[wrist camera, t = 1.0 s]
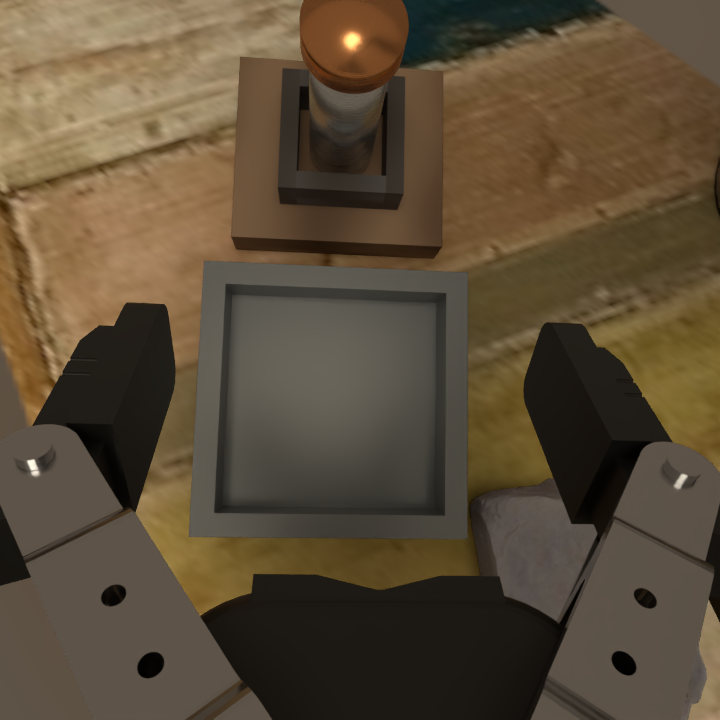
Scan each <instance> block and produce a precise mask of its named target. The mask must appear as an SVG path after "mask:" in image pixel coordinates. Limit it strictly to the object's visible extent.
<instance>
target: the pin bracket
mask: <svg viewBox="0 0 720 720" xmlns="http://www.w3.org/2000/svg"><path fill="white" fill-rule="evenodd" d="M442 180H443V71H431V70H417V69H403V68H398V70H397V72H396V73H395V75H394V76H393V77H392V78H391V79H390V80H389V81H388V84H387V88H386V93H385V97H384V102H383V106H382V111H381V115H380V120H379V124H378V129H377V133H376V138H375V142H374V147H373V151H372V156H371V160H370V163H369V165H368V167H367V168H366V170H365V171H364V172H363V173H362V174H346V173H328V172H319V171H318V170H317V169H316V168H315V167H314V165H313V163H312V161H311V158H310V147H309V70H308V68H307V66H306V64H305V62H304V61H292V60H278V59H264V58H250V57H240V71H239V91H238V111H237V131H236V151H235V171H234V191H233V212H232V232H231V237H232V239H233V242H234V244H235V247H236V249H241V250H263V251H284V252H306V253H327V254H349V255H371V256H392V257H414V258H434V257H435V256H436V254H437V253H438V252H439V250H440V249H441V247H442Z"/></svg>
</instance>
